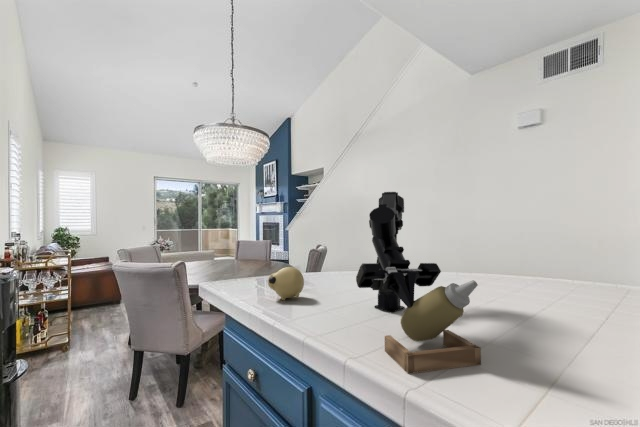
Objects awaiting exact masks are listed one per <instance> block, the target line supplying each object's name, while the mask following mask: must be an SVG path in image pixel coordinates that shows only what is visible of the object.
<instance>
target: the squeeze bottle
mask: <svg viewBox="0 0 640 427" xmlns="http://www.w3.org/2000/svg"><path fill="white" fill-rule="evenodd" d="M478 286H479V285H478V282H477V281H476V280H470V281H468V282H465V283H463V284H460V285H459V284H458V283H455V282H452V283H450V284H448V285H447V286H442V285H441V286H437V287H436V288H434V289H432V290H430V291H429V292H428V293H426V294H423V295H421V296H420V297H418V298H417V299H416V300H415V299H414V303H413V306H412V307H411V308H408V307H407V306H406V308H405V310H404V311H403V314H402V316H401V317H400V325H401V328H402V330H403V333H404V334H405V335H406V336H407V338H409V339H411V340H412V341H413V342H414V341H415V342H422V341H423V342H424V341H430V340H433V339H436V338H437V337H439V335H441V334H443V331H444V330H447V329H448V328H449V327H450V326H451V325H452V324H453V323H455V322H456V321H457V320H459V319H460V318H461V317H462V316H463V315H464V312H465V311H464V310H465V309H464V308H466V307H467V306H468V305H470V302H471V301H470V300H471V299H470V297H469V296H470V295H471V294H472V293H473V291H475V289H476V288H477V287H478Z"/></svg>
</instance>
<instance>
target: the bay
mask: <svg viewBox="0 0 640 427" xmlns="http://www.w3.org/2000/svg"><path fill="white" fill-rule="evenodd" d="M442 341H443V342H442V345H443V346H444V347H446V348H437V349H436V348H435V349H434V348H433V349H425V350H418V351H410V350H409V349H408V348H406V346H404V345H403V344H402V343H400V341H398V340H396V338H394V337H393V336H392V335H389V334H388V335H387V334H386V335H384V352H385V353H386V354H387V355H388V356H389V357H390V358H391V359H392V360H393V361H394V362H396V364H398V365H399V367H401V369H403V370H404V372H406V373H407V374H415V373H416V374H417V373H424V372H425V373H426V372H431V371H438V370H439V371H440V370H447V369H456V368H462V367H470V366H471V367H472V366H479V365H481V364H482V354H481V353H482V352H481V350H482V349H481V346H478V345H476V344H475V343H473V342H472V341H470V340H467V339H466V338H464V337H462V336H460V335H458V334H456V333H455V332H453V331H451V330H449V329H445V330H444V331H443V332H442Z"/></svg>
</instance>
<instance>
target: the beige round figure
mask: <svg viewBox="0 0 640 427" xmlns="http://www.w3.org/2000/svg"><path fill="white" fill-rule="evenodd" d="M267 285H268V287H269V288H270V289H271V290H272V291H274V292H275V294H277V296H279V297H280V300H281V301H285V300H286V299H291V298H294V297H295V298H299V297H300V294H301V293H302V291H303V289H304V287H305V278H304V276H303V274H302V272H301V271H300V270H299V269H298V268H296V267H292V266H287V267H283V268H281V269H279V270H277V272H273V273H271V274H270V275H269V277H268V278H267Z"/></svg>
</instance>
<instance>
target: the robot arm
mask: <svg viewBox="0 0 640 427" xmlns="http://www.w3.org/2000/svg"><path fill="white" fill-rule="evenodd" d="M403 213H405V199H404V197H402V196H401V195H399V192H396V191H384V192H382V193H381V196H380V197H379V198H378V207H376V208H374V209H372V210H371V211H370V212H369V220H368V222H369V223H368V224H369V229H370V230H371V235H372V238H371V242H372V245H373V247H374V250H375V254H376V256H377V257H376V262H375V263H370V262H369V263H365V262H364V263H363V262H362V263H361V265H360V266H359V269H358V271H357V273H356V277H355V281H356V285H357V287H358V288H359V289H367V288H370V289H372V291H377V292H378V293H377V304H376V305H374V308H375V309H378V310H382V311H385V312H388V313H389V312H390V313H394V312H397V311H401V310H404V309H405V310H406V308H407V307H408V308H411V307H412V306H413V303H414V301H415V287H416V286H418V287H431V286H433V284H434V283H435V281H436V280H437V278H438V277H439V275H440V274H441V273H442V271H441V268H440V266H439V265H438V264H437V263H435V262H420V263H419V265H418V267H417V268H410V265H411V261H410V260H409V259H406V258H405V257H404V254H403V253H404V250H405V249H404V247H403V246H399V244H398V234H399V231H401V230H402V227H403V226H404V221H403ZM415 285H416V286H415ZM401 302H403V305H405V306H406V308H405V306H403V305H401Z"/></svg>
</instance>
